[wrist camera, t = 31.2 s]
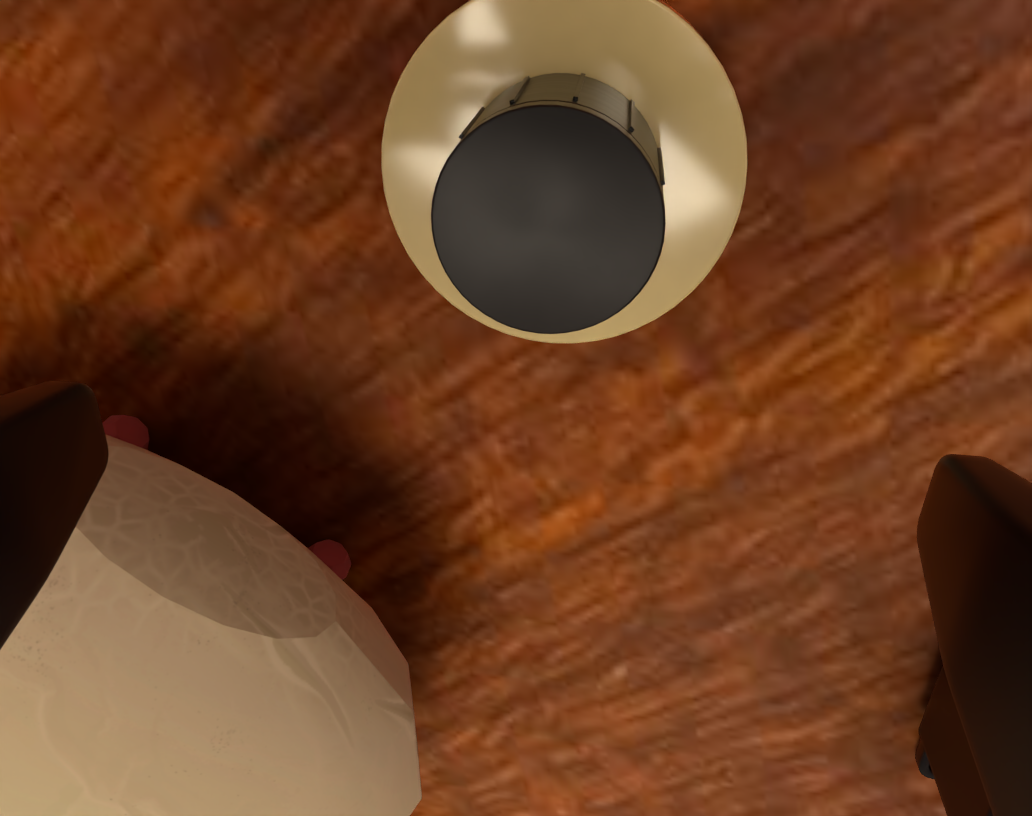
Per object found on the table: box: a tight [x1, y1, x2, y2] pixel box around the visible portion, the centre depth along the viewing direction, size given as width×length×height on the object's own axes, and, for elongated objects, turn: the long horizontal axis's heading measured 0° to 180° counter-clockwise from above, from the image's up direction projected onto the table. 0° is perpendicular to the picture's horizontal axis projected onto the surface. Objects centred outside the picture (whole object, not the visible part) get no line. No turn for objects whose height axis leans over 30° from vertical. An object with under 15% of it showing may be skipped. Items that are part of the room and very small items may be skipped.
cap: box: [431, 73, 666, 334], centre depth 16 cm, size 4×4×3 cm
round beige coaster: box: [381, 0, 748, 343], centre depth 17 cm, size 7×7×1 cm
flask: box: [0, 415, 422, 816], centre depth 21 cm, size 9×16×18 cm
